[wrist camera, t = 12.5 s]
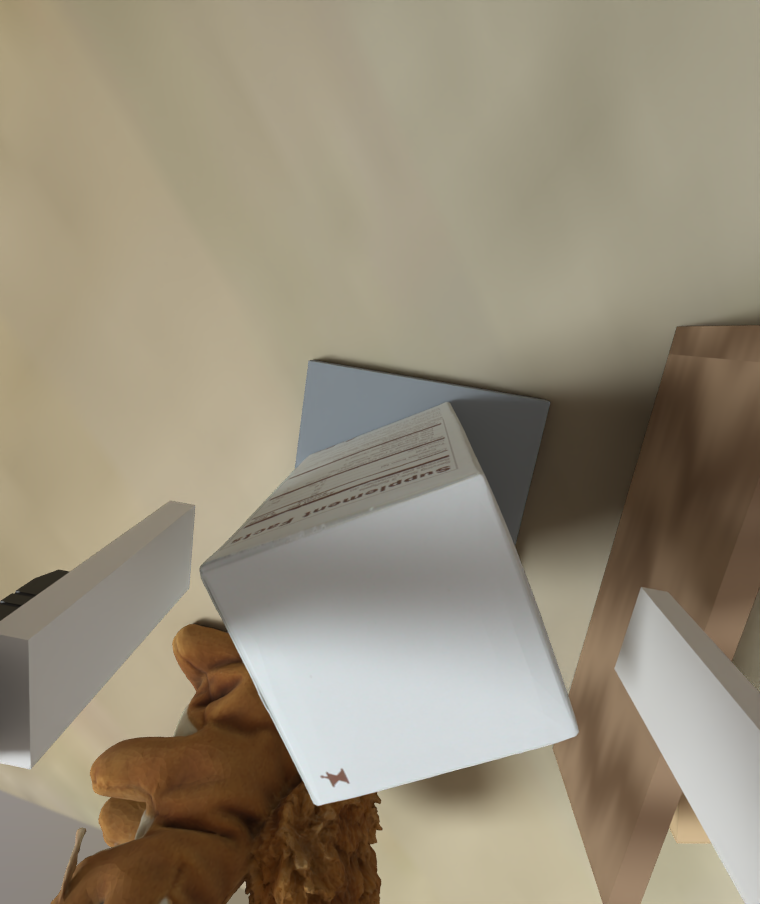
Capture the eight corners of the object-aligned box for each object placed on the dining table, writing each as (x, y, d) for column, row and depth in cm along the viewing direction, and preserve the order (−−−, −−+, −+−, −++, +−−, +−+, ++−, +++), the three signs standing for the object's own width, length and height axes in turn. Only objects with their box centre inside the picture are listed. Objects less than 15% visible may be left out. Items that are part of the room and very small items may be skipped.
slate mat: (312, 359, 24) (308, 360, 23) (546, 399, 24) (550, 402, 23) (284, 571, 27) (280, 579, 26) (495, 610, 26) (497, 619, 25)
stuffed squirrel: (175, 611, 28) (-33, 851, 15) (425, 688, 28) (431, 995, 15) (143, 756, 30) (-60, 1071, 17) (373, 827, 30) (339, 1195, 17)
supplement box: (503, 539, 24) (590, 749, 12) (360, 585, 26) (307, 820, 13) (452, 395, 23) (491, 467, 11) (303, 450, 24) (184, 573, 12)
